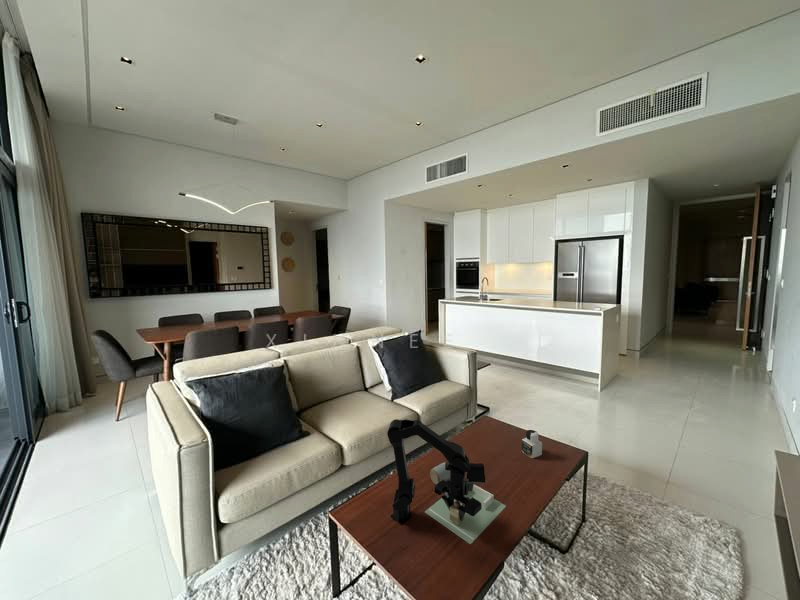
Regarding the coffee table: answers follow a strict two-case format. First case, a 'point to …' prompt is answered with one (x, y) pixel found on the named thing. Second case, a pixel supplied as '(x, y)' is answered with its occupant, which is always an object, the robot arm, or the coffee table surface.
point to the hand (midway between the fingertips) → (456, 516)
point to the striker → (455, 513)
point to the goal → (484, 496)
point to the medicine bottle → (531, 444)
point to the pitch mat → (466, 517)
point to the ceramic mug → (440, 474)
